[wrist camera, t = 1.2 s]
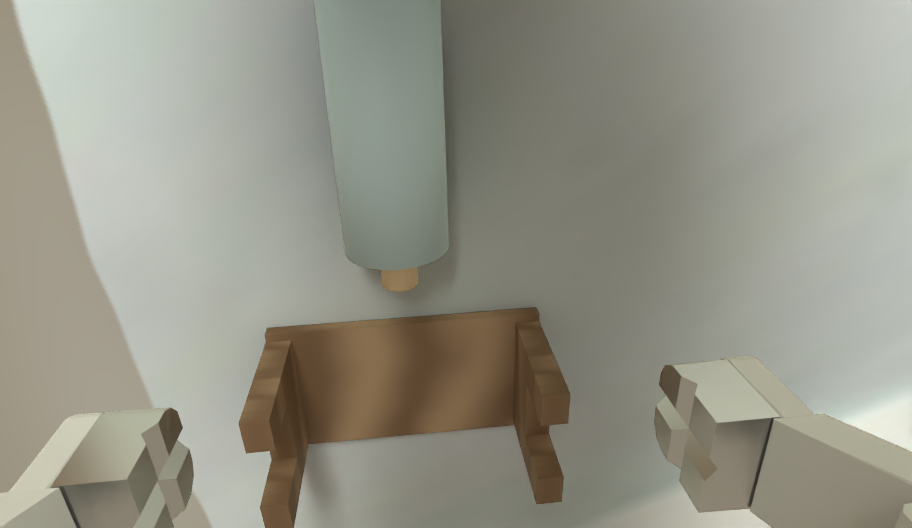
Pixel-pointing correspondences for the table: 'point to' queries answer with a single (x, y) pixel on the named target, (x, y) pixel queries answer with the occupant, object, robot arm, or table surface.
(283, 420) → the roll holder
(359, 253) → the paper roll
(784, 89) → the table surface
